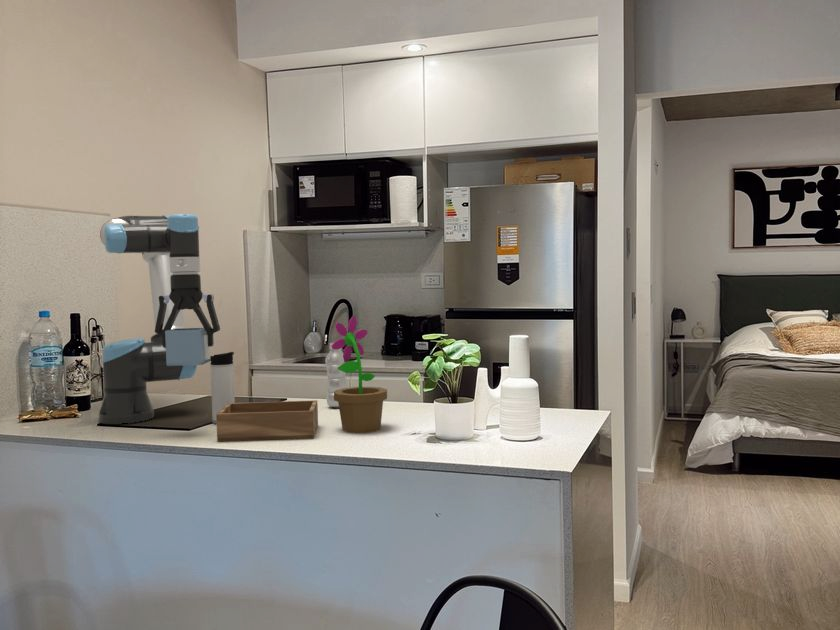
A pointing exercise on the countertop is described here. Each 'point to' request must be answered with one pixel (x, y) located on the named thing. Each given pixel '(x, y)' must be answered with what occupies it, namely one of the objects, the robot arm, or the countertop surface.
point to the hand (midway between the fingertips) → (188, 359)
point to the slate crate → (185, 346)
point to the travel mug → (221, 382)
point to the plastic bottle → (334, 374)
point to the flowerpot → (357, 402)
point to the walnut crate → (267, 421)
